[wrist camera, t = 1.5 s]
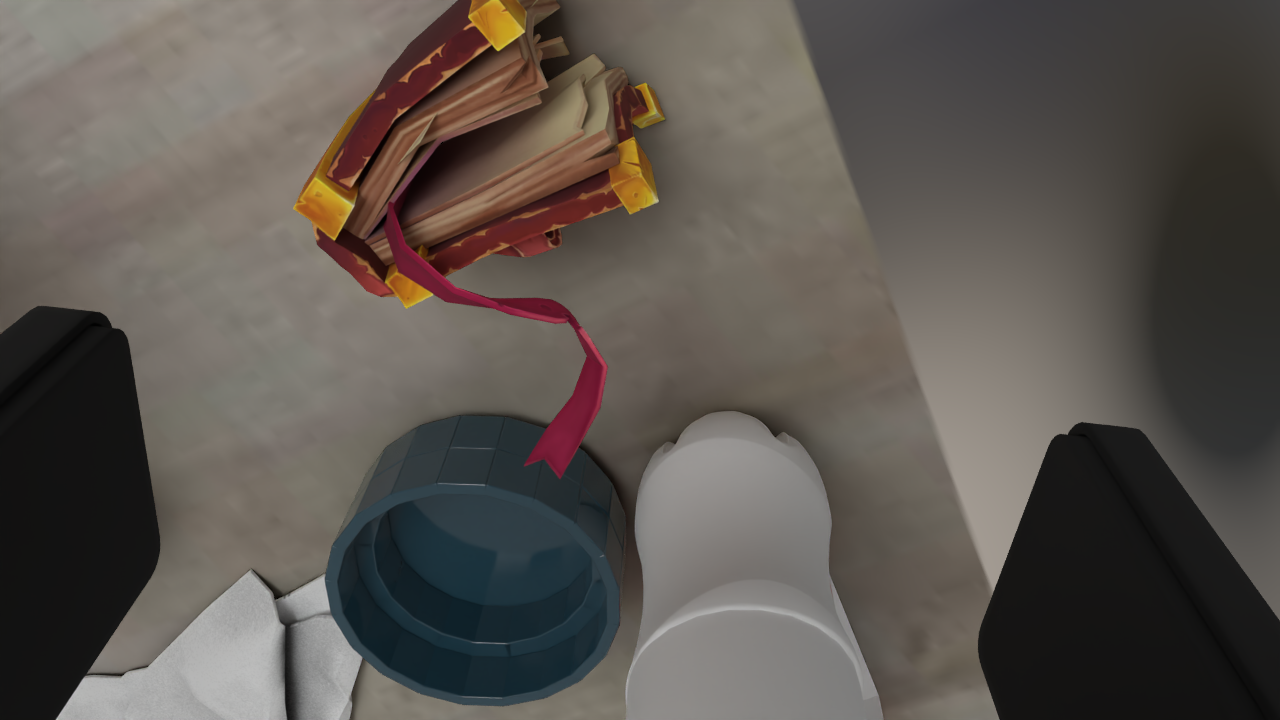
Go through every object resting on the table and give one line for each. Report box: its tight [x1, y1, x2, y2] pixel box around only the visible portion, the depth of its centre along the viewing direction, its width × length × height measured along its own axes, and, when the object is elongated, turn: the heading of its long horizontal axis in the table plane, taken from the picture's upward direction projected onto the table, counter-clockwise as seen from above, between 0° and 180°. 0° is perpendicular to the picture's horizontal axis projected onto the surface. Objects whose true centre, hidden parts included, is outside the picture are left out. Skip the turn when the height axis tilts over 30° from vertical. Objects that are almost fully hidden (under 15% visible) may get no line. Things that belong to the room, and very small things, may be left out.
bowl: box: [324, 415, 626, 706], centre depth 40 cm, size 11×11×5 cm
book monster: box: [293, 0, 665, 479], centre depth 30 cm, size 11×9×12 cm
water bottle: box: [625, 411, 867, 720], centre depth 29 cm, size 7×7×25 cm
